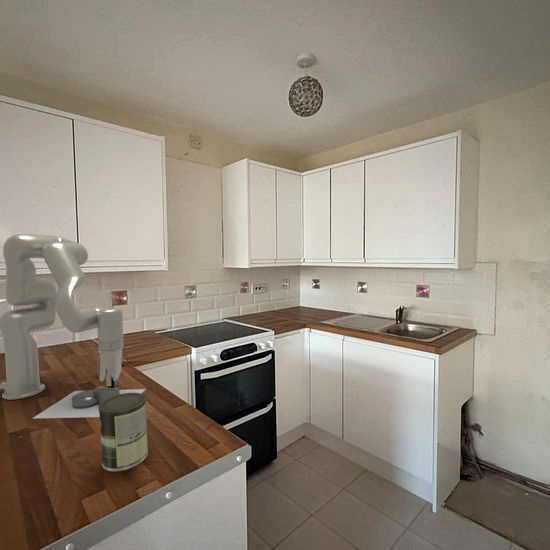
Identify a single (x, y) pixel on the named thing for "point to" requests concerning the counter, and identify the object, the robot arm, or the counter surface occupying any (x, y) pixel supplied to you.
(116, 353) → the robot arm
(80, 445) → the counter surface
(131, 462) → the coffee can
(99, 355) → the soda can
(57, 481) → the counter surface
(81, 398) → the grey rounded handled piece
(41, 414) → the white rectangular board
